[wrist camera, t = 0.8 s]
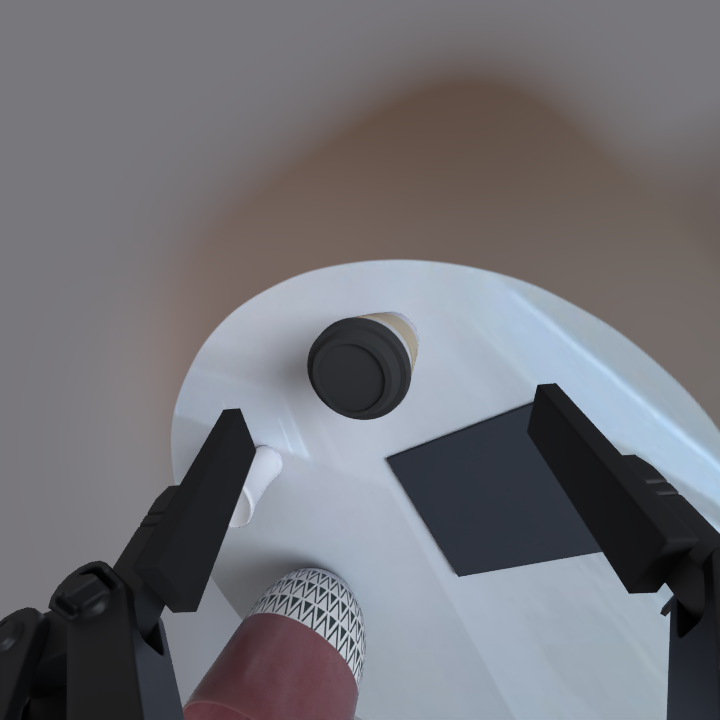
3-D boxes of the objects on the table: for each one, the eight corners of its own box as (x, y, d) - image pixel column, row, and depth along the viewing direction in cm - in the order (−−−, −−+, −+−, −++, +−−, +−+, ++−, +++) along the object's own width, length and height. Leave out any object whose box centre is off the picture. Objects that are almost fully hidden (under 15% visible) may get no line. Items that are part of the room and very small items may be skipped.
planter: (404, 589, 49) (363, 806, 29) (354, 649, 56) (294, 853, 37) (300, 518, 51) (198, 672, 32) (266, 584, 59) (166, 741, 39)
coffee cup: (360, 296, 38) (301, 312, 24) (435, 309, 36) (416, 335, 22) (351, 365, 41) (294, 414, 27) (420, 381, 39) (394, 444, 25)
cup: (291, 440, 48) (249, 481, 38) (290, 490, 50) (251, 539, 41) (242, 426, 50) (192, 462, 41) (244, 475, 53) (197, 518, 44)
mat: (555, 393, 34) (556, 395, 34) (637, 541, 36) (639, 545, 35) (387, 457, 43) (386, 459, 43) (458, 573, 45) (458, 577, 44)
